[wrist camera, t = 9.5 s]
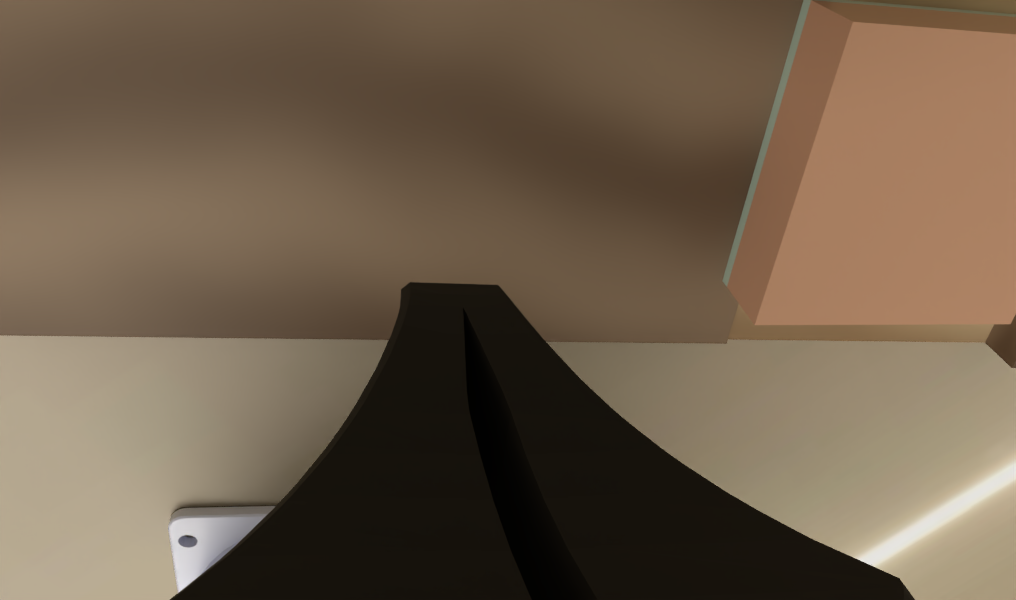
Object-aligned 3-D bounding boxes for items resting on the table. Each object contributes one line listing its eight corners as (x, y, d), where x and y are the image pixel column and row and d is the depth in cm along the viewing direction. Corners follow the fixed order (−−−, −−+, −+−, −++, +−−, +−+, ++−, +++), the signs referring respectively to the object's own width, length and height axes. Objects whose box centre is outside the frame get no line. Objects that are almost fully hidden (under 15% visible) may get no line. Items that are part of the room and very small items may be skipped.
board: (994, 323, 25) (1043, 368, 23) (13, 306, 20) (-22, 361, 18) (1195, -73, 19) (1282, -55, 17) (-116, -225, 14) (-187, -224, 13)
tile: (722, 280, 21) (961, 282, 23) (754, 325, 20) (1010, 324, 21) (804, -4, 17) (1084, 19, 19) (853, 21, 16) (1155, 45, 17)
